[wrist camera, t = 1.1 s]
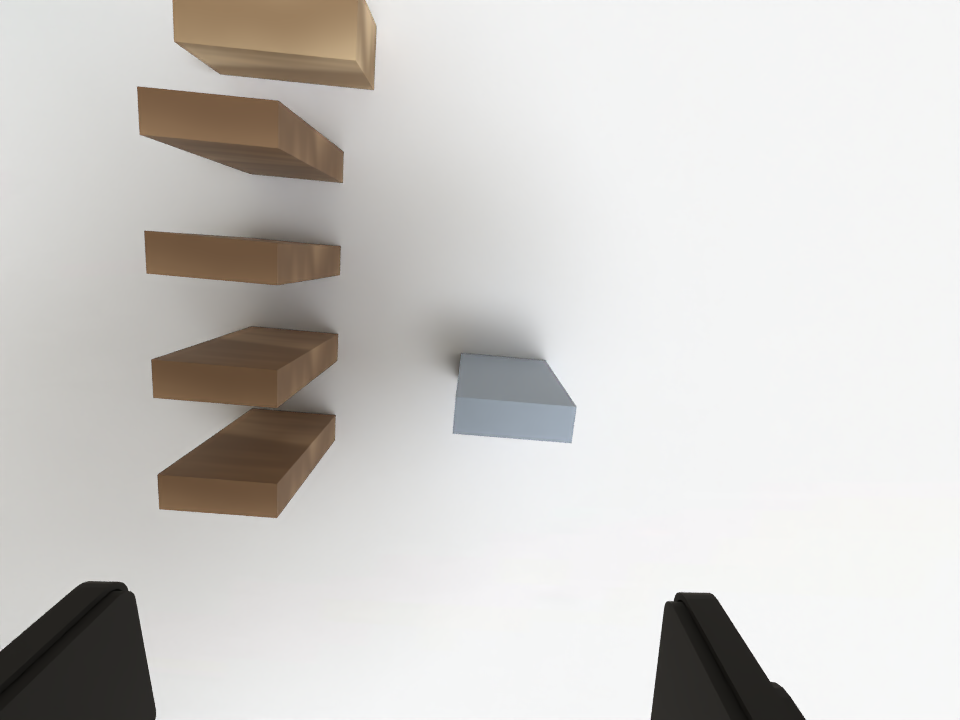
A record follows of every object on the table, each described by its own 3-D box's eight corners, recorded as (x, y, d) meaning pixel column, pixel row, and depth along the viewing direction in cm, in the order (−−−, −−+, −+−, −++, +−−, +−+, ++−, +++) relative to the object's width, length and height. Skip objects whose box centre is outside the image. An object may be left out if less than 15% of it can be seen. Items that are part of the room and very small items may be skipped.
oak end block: (373, 89, 26) (355, 60, 22) (220, 74, 25) (174, 41, 22) (376, 26, 25) (358, -16, 21) (218, 9, 25) (171, -37, 21)
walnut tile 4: (342, 182, 27) (278, 148, 18) (250, 174, 27) (139, 134, 18) (343, 151, 26) (278, 100, 18) (250, 142, 26) (137, 86, 17)
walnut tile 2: (337, 360, 29) (277, 407, 20) (251, 353, 29) (153, 397, 20) (338, 333, 28) (277, 370, 20) (251, 326, 28) (151, 359, 20)
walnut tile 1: (334, 440, 30) (277, 518, 21) (252, 433, 30) (159, 509, 21) (335, 415, 30) (277, 483, 21) (252, 408, 29) (157, 474, 21)
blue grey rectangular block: (542, 386, 29) (571, 443, 21) (459, 379, 29) (452, 433, 20) (545, 360, 29) (576, 406, 20) (461, 353, 29) (455, 396, 20)
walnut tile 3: (339, 275, 28) (277, 285, 19) (250, 267, 28) (146, 273, 19) (340, 246, 27) (277, 243, 19) (250, 238, 27) (144, 230, 18)
